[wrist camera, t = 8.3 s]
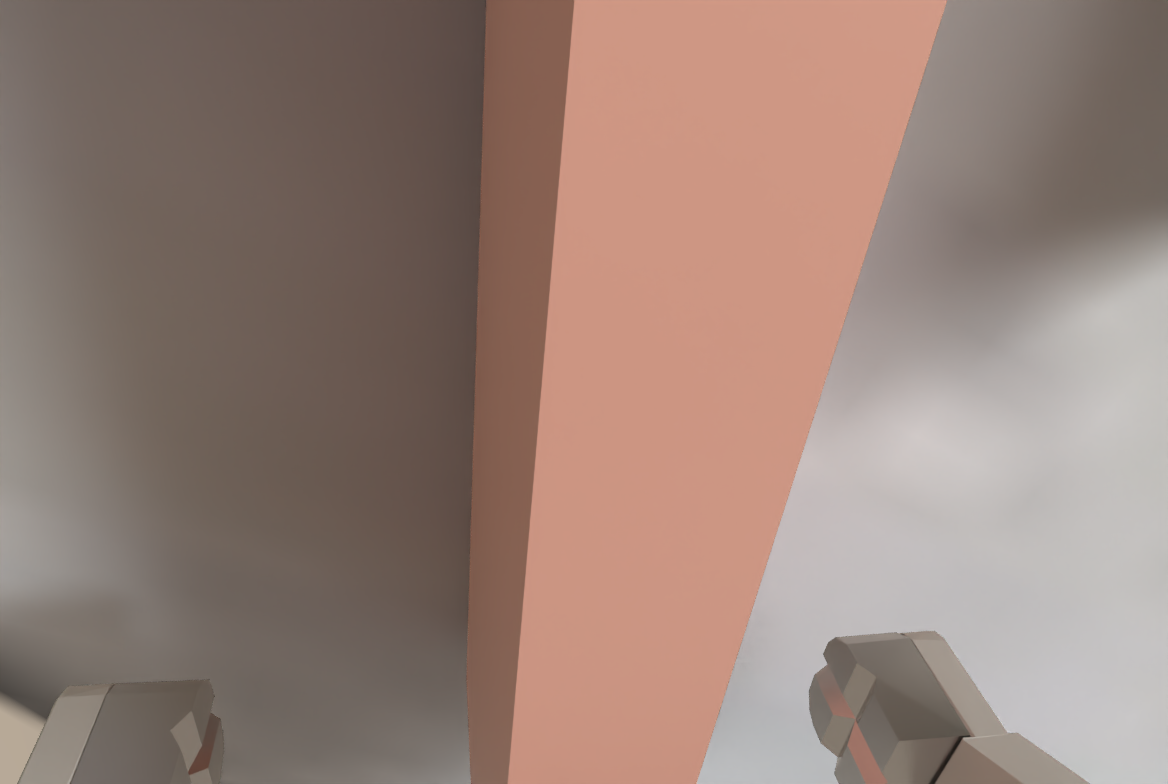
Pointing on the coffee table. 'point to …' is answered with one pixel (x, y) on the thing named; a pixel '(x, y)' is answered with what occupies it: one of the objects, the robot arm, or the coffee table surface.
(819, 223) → the pink stick
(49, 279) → the coffee table surface
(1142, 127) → the coffee table surface
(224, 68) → the coffee table surface
